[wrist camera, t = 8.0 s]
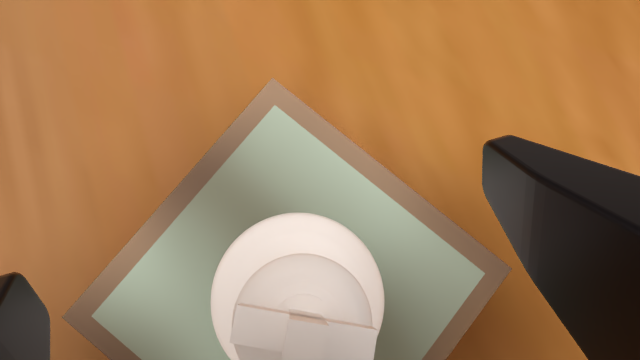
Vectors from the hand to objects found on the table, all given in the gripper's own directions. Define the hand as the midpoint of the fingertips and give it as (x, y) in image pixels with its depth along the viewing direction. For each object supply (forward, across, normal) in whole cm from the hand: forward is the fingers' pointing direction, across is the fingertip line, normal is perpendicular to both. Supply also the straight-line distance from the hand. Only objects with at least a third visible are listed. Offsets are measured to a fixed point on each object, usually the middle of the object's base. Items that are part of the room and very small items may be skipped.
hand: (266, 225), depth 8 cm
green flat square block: (+6, 0, +8) cm, 11 cm away
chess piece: (+4, 0, +7) cm, 8 cm away
